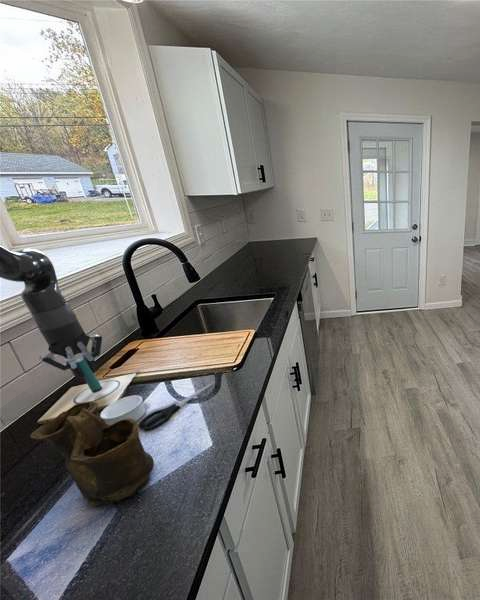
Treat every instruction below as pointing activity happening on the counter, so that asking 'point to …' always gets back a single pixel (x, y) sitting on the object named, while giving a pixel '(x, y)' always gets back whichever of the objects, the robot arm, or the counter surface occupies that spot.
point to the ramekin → (124, 410)
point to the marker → (89, 375)
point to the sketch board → (89, 396)
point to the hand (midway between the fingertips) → (87, 374)
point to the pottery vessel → (99, 453)
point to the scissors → (166, 412)
